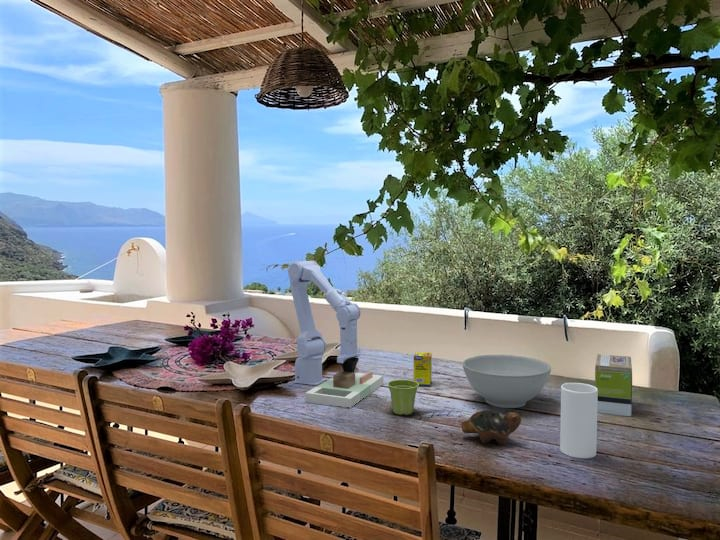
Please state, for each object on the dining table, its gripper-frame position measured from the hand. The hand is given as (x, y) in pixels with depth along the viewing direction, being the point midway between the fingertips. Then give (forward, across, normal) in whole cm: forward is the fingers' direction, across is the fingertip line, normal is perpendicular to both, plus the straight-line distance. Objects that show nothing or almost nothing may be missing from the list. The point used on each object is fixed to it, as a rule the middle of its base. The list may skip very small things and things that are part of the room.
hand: (349, 379), depth 181 cm
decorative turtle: (+4, -25, -52) cm, 58 cm away
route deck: (+4, -2, 0) cm, 5 cm away
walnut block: (+1, -4, 0) cm, 4 cm away
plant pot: (+4, -13, -24) cm, 28 cm away
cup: (+4, -24, -73) cm, 77 cm away
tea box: (+4, +15, -82) cm, 83 cm away
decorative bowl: (+4, +8, -51) cm, 52 cm away
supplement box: (+4, +17, -21) cm, 27 cm away
